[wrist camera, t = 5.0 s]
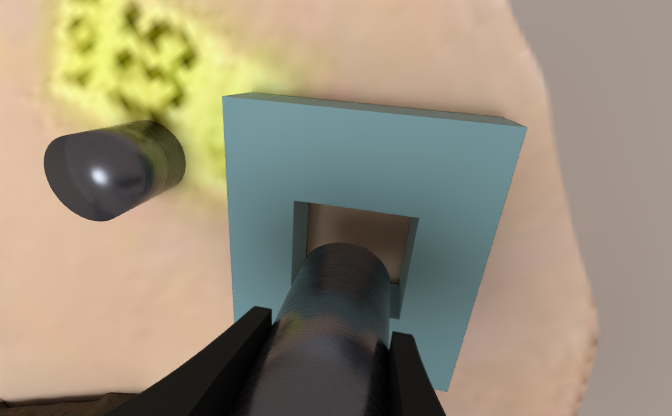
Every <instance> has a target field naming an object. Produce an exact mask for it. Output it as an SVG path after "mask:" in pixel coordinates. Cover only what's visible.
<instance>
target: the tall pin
mask: <svg viewBox="0 0 672 416" xmlns="http://www.w3.org/2000/svg"><path fill="white" fill-rule="evenodd" d="M389 322H390V278H389V274H388V272H387V269H386V268H385V266H384V264H383V263H382V262H381V261H380V259H379V258H378V257H377V256H375V255H374V254H373V253H372V252H370V251H368V250H367V249H365V248H363V247H360V246H358V245H355V244H350V243H330V244H326V245H323V246H321V247H318V248H317V249H315V250H314V251H312V252H311V253H310V254H309V255H308V256H307V257H306V258H305V260H304V262H303V263H302V265H301V268H300V270H299V272H298V274H297V276H296V278H295V280H294V282H293V284H292V286H291V288H290V290H289V292H288V294H287V296H286V298H285V300H284V302H283V304H282V306H281V308H280V311H279V313H278V315H277V317H276V319H275V321H274V323H273V325H272V327H271V329H270V331H269V333H268V335H267V337H266V339H265V341H264V343H263V345H262V347H261V349H260V351H259V354H258V356H257V358H256V360H255V362H254V364H253V366H252V368H251V370H250V372H249V374H248V376H247V378H246V380H245V382H244V384H243V386H242V388H241V390H240V392H239V394H238V397H237V399H236V401H235V403H234V405H233V407H232V409H231V411H230V413H229V415H228V416H387V402H388V361H389Z"/></svg>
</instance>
